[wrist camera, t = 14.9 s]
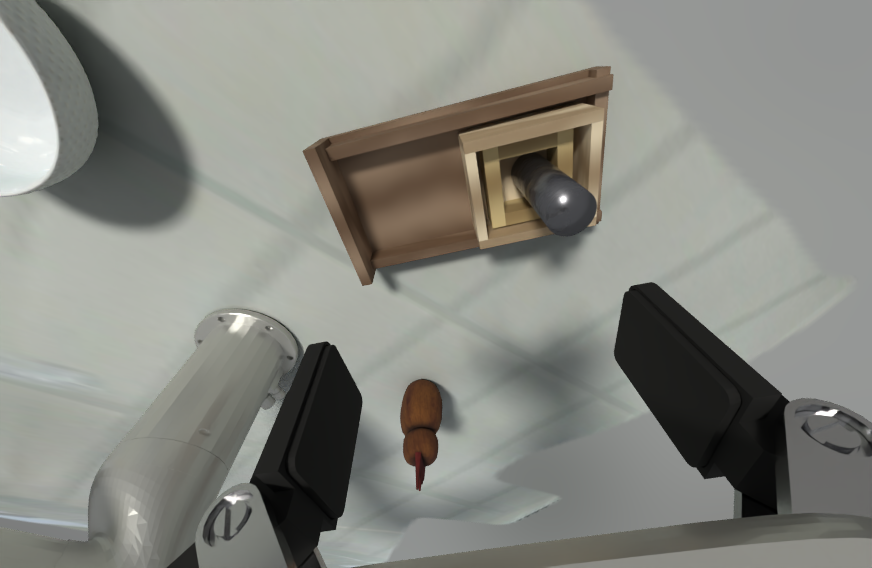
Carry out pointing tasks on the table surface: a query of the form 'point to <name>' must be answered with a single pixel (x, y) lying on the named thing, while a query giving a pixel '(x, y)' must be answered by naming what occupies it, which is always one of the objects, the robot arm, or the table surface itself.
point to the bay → (426, 172)
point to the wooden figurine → (421, 425)
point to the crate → (504, 143)
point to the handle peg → (553, 195)
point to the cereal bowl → (40, 102)
